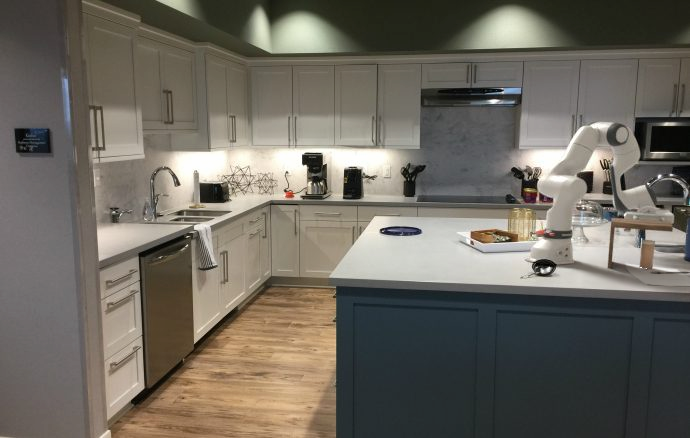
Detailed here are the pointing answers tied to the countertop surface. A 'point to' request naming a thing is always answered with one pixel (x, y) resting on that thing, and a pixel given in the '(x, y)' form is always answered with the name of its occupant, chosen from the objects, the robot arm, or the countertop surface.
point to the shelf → (635, 225)
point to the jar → (647, 254)
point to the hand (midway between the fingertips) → (649, 220)
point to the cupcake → (538, 231)
